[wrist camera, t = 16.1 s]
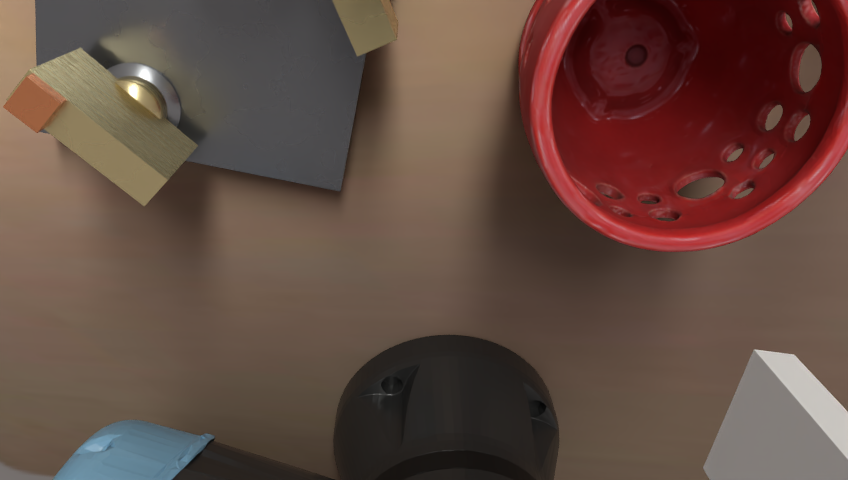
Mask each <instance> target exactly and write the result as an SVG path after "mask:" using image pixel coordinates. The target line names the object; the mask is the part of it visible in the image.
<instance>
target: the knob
mask: <svg viewBox="0 0 848 480" xmlns="http://www.w3.org/2000/svg"><path fill="white" fill-rule="evenodd" d="M3 107H4V108H5V109H6V110H8V111H9V112H10V113H11V114H13V115H14V116H15V117H17V118H18V119H19V120H21V121H22V122H23V123H25V124H26V125H27V126H28V127H30V128H31V129H32V130H34V131H35V132H36V133H38V132H40V131H41V130H43V129H44V130H46V131H47V132H48V133H50V134H51V135H52V136H54V137H55V138H56V139H57V140H59V141H60V142H61V143H63V144H64V145H65V146H67V147H68V148H69V149H70V150H72V151H73V152H74V153H76V154H77V155H78V156H79V157H81V158H82V159H83V160H85V161H86V162H87V163H89V164H90V165H91V166H92V167H94V168H95V169H96V170H98V171H99V172H100V173H102V174H103V175H104V176H105V177H107V178H108V179H109V180H111V181H112V182H113V183H114V184H116V185H117V186H118V187H120V188H121V189H122V190H124V191H125V192H126V193H127V194H129V195H130V196H131V197H133V198H134V199H135V200H137V201H138V202H139V203H140V204H142V205H143V206H145V205H146V204H147V203H148V202H149V201H150V200H151V199H152V197H153V196H154V195H155V194H156V193H157V192H158V191H159V190H160V189H161V187H162V186H163V185H164V184H165V183H166V182H167V181H168V180H169V178H170V177H171V176H172V175H173V174H174V173H175V172H176V170H177V169H178V168H179V167H180V166H181V165H182V164H183V162H184V161H185V160H186V159H187V158H188V157H189V156H190V154H191V153H192V152H193V151H194V150H195V149H196V148H197V146H198V145H197V144H196V143H195V142H193V141H192V140H191V139H190V138H189V137H187V136H186V135H185V134H184V133H183V132H181V131H180V130H179V129H178V128H177V127H175V126H174V125H173V124H172V123H170V122H169V121H168V120H167V114H168V110H167V104H166V101H165V98H164V96H163V95H162V93H161V92H160V90H159V89H158V88H157V87H156V86H155V85H154V84H152V83H151V82H149V81H148V80H146V79H143V78H140V77H136V76H124V77H120V78H116V77H115V76H114V75H113V74H112V73H110V72H109V71H108V70H107V69H106V68H104V67H103V66H102V65H101V64H99V63H98V62H97V61H96V60H95V59H93V58H92V57H91V56H90V55H89V54H87V53H86V52H85V51H84V50H83V49H81V48H79V49H76V50H74V51H72V52H69V53H67V54H65V55H62V56H60V57H58V58H55V59H53V60H51V61H48V62H46V63H44V64H41V65H39V66H37V67H34V68H32V69H30V70H28V72H27V73H26V74H25V76H24V77H23V78H22V80H21V81H20V82H19V84H18V85H17V86H16V88H15V89H14V90H13V92H12V93H11V94H10V96H9V97H8V98H7V102H6V104H5V105H4V106H3Z"/></svg>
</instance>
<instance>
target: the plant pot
mask: <svg viewBox="0 0 848 480" xmlns="http://www.w3.org/2000/svg"><path fill="white" fill-rule="evenodd" d="M812 1H813V2H814V3H815V5H816V8H817V11H818V14H817V13H816V11H815V9H814V7H813V5H812V2H811V0H536V2H535V3H534V5H533V7H532V9H531V11H530V13H529V16H528V18H527V21H526V24H525V26H524V30H523V33H522V37H521V42H520V48H519V60H518V69H519V100H520V109H521V115H522V121H523V125H524V129H525V133H526V136H527V139H528V142H529V144H530V147H531V150H532V152H533V155H534V157H535V159H536V162H537V164H538V166H539V167H540V169H541V171H542V173H543V175H544V176H545V178H546V180H547V182H548V183H549V185H550V186H551V188H552V189H553V191H554V193H555V194H556V195H557V196H558V198H559V199H560V200H561V202H562V203H563V204H564V205H565V206H566V207H567V208H568V209H569V210H570V211H571V212H572V213H573V214H574V215H575V216H576V217H577V218H578V219H579V220H581V221H582V222H583V223H584V224H586V225H587V226H589V227H590V228H592V229H593V230H595V231H597V232H598V233H600V234H602V235H604V236H606V237H608V238H610V239H612V240H614V241H617V242H619V243H622V244H625V245H628V246H632V247H635V248H640V249H646V250H652V251H659V252H685V251H699V250H705V249H711V248H715V247H719V246H723V245H726V244H730V243H733V242H736V241H738V240H741V239H744V238H746V237H748V236H751V235H753V234H755V233H757V232H758V231H760V230H762V229H764V228H766V227H767V226H769V225H771V224H773V223H774V222H776V221H777V220H779V219H780V218H782V217H783V216H785V215H786V214H788V213H789V212H791V211H792V210H793V209H794V208H796V207H797V206H798V205H799V204H801V203H802V202H803V201H804V200H805V199H806V198H807V197H808V196H809V195H811V194H812V193H813V192H814V191H815V190H816V189H817V188H818V187H819V186H820V185H821V184H822V183H823V182H824V180H825V179H826V178H827V177H828V176H829V175H830V173H831V172H832V171H833V170H834V168H835V167H836V166H837V164H838V163H839V161H840V160H841V158H842V157H843V155H844V154H845V152H846V151H847V149H848V0H812ZM786 13H787V14H788V15H789V16H790V18H791V20H792V24H793V25H792V28H791V27H790V26H789V25H788V22H787V20H786ZM810 44H812V45H813V46H814V47H815V48H816V49H817V51H818V52H819V54H820V57H821V61H822V69H821V75H820V79H819V81H818V82H817V84H816V85H815V86H814V88H813V89H812V90H811V91H809V92H806V93H805V92H804V91H803V90H802V88H801V85H800V82H799V68H800V62H801V58H802V55H803V53H804V51H805V49H806V48H807V46H808V45H810ZM776 105H781V106H782V108H783V114H782V117H781V119H780V121H779V122H778V124H777V125H776V126H775V127H774V128H773V129H771V130H768V131H767V130H766V129H765V123H766V120H767V116H768V114H769V113H770V111H771V110H772V109H773V108H774V107H775V106H776ZM808 114H809V115H810V119H811V120H810V126H809V128H808V130H807V132H806V133H805V134H804V135H803V137H802V138H800V139H799V140H798V141H795V140H794V133H795V130H796V128H797V126H798V124H799V122H800V121H801V120H802V119H803V118H804V117H805V116H806V115H808ZM740 148H743V152H742V154H741V155H740V156H739V157H738V158H737V159H736V160H734V161H731V162H727V158H728V157H729V156H730V154H732V153H733V152H734V151H735V150H738V149H740ZM773 153H774V158H773V160H772V161H771V162H770V163H769V164H768V165H767V166H766V167H764V168H762V169H759V166H760V164H761V163H762V162H763V160H764V159H765V158H766V157H768V156H769V155H771V154H773ZM707 177H719V178H722V179H723V180H724V185H723V186H722V187H721V188H719V189H718V190H717V191H716V192H714V193H712V194H710V195H708V196H706V197H704V198H698V199H692V198H687V197H683V196H680V195H678V193H677V192H678V191H679V190H680V189H681V188H682V187H684V186H686V185H687V184H689V183H690V182H693V181H696V180H699V179H701V178H707ZM750 188H754V189H753V191H752V192H751V193H750V194H748V195H747V196H745V197H742V198H739V199H734V198H735V197H736V195H738V194H739V193H741V192H742V191H744V190H746V189H750ZM602 193H603V194H605V195H608V196H610V197H611V198H613V199H611V198H608V197H606V196H605V195H603V194H602ZM641 201H652V202H655V203H656V204H645V203H641ZM655 218H670V219H674V220H675V221H660V220H657V219H655Z"/></svg>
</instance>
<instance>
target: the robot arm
mask: <svg viewBox="0 0 848 480" xmlns="http://www.w3.org/2000/svg"><path fill="white" fill-rule="evenodd" d="M214 439H215V436H214V435H211V434H203V435H201V436H199V435H195V434H191V433H187V432H184V431H180V430H176V429H172V428H168V427H165V426H161V425H157V424H153V423H149V422H146V421H140V420H124V421H119V422H115V423H113V424H110V425H108V426H106V427H104V428H102V429H101V430H99V431H98V432H96V433H95V434H94V435H92V436H91V437H90V438H89V439H88V440H87V441H86V442H84V443H83V444H82V445H81V446H80V447H79V449H78V450H77V451H76V452H75V453H74V454H73V455H72V456H71V457H70V459H69V460H68V461H67V462H66V463H65V465H64V466H63V467H62V468H61V469H60V471H59V472H58V473H57V475H56V476H55V477H54V478H53V480H334V479H331V478H328V477H325V476H322V475H319V474H315V473H312V472H309V471H306V470H303V469H300V468H296V467H293V466H290V465H287V464H284V463H281V462H278V461H274V460H271V459H268V458H265V457H262V456H259V455H255V454H252V453H249V452H246V451H243V450H240V449H237V448H233V447H230V446H227V445H224V444H221V443H218V442H214V441H213V440H214ZM558 449H559V428H558V421H557V417H556V414H555V410H554V407H553V403H552V400H551V397H550V394H549V391H548V389H547V387H546V385H545V383H544V382H543V380H542V379H541V377H540V376H539V374H538V373H537V372H536V371H535V369H534V368H533V367H532V366H531V365H530V364H528V363H527V362H526V361H525V360H524V359H522V358H521V357H520V356H518V355H517V354H515V353H514V352H512V351H510V350H508V349H506V348H505V347H502V346H500V345H498V344H495V343H492V342H490V341H486V340H483V339H479V338H474V337H468V336H458V335H438V336H429V337H423V338H418V339H414V340H410V341H407V342H404V343H401V344H399V345H396V346H394V347H392V348H389V349H387V350H386V351H384V352H382V353H380V354H379V355H377V356H376V357H374V358H373V359H371V360H370V361H369V362H367V363H366V364H365V365H364V366H363V367H362V368H361V369H360V370H359V371H358V372H357V373H356V374H355V375H354V376H353V378H352V379H351V380H350V382H349V383H348V385H347V386H346V388H345V390H344V392H343V394H342V396H341V399H340V402H339V405H338V409H337V415H336V422H335V429H334V455H335V460H336V465H337V468H338V471H339V474H340V477H341V480H554V475H555V468H556V462H557V456H558ZM703 469H704V470H705V472H706V474H707V476H708V477H709V479H710V480H848V412H847V411H846V410H845V408H844V407H843V406H842V405H841V404H840V403H839V402H838V401H837V400H836V399H835V398H834V397H833V396H832V395H831V394H830V392H829V391H828V390H827V389H826V388H825V387H824V386H823V385H822V384H821V383H820V382H819V381H818V380H817V379H816V378H815V376H814V375H813V374H812V373H811V372H810V371H809V370H808V369H807V368H806V367H805V366H804V365H803V364H802V363H801V362H800V360H799V359H798V358H797V357H796V356H795V355H794V354H786V353H778V352H770V351H762V350H754V351H753V353H752V355H751V358H750V360H749V362H748V365H747V367H746V369H745V372H744V374H743V376H742V379H741V381H740V383H739V386H738V388H737V390H736V393H735V395H734V397H733V400H732V402H731V404H730V407H729V409H728V411H727V414H726V416H725V418H724V421H723V423H722V425H721V428H720V430H719V432H718V435H717V437H716V439H715V442H714V444H713V446H712V448H711V451H710V453H709V455H708V458H707V460H706V462H705V465H704V467H703Z"/></svg>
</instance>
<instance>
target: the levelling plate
mask: <svg viewBox="0 0 848 480" xmlns="http://www.w3.org/2000/svg"><path fill="white" fill-rule="evenodd" d="M35 8H36V60H37V66H39V65H41V64H44V63H46V62H48V61H51V60H53V59H55V58H58V57H60V56H62V55H65V54H67V53H69V52H72V51H74V50H76V49H79V48H81V49H83V50H84V51H85V52H86V53H87V54H89V55H90V56H91V57H92V58H93V59H95V60H96V61H97V62H98V63H99V64H101V65H102V66H103V67H104V68H106V69H107V70H108V71H109V72H110V73H112V74H113V75H114V76H115V77H116V78H120V77H124V76H136V77H140V78H143V79H146V80H148V81H149V82H151V83H152V84H154V85H155V86H156V87H157V88H158V89H159V90H160V92H161V93H162V95H163V96H164V98H165V101H166V104H167V110H168V114H167V120H168V121H169V122H170V123H172V124H173V125H174V126H175V127H177V128H178V129H179V130H180V131H181V132H183V133H184V134H185V135H186V136H187V137H189V138H190V139H191V140H192V141H193V142H195V143H196V144H197V145H198V146H197V148H196V149H195V150H194V151H193V152H192V153H191V154H190V156H189V157H188V158H187V159H186V160H185V161H189V162H194V163H199V164H205V165H210V166H215V167H220V168H225V169H230V170H235V171H240V172H245V173H250V174H255V175H260V176H265V177H270V178H275V179H280V180H285V181H290V182H295V183H300V184H305V185H310V186H315V187H320V188H326V189H331V190H336V191H341V187H342V182H343V178H344V172H345V167H346V162H347V156H348V151H349V145H350V140H351V135H352V129H353V124H354V119H355V113H356V108H357V102H358V97H359V92H360V86H361V81H362V75H363V70H364V65H365V59H366V54H367V53H364V54H362V55H360V56H357V55H356V53H355V50H354V48H353V46H352V44H351V41H350V39H349V37H348V35H347V32H346V30H345V28H344V26H343V23H342V21H341V19H340V17H339V14H338V12H337V10H336V8H335V5H334V3H333V1H332V0H35ZM40 132H43V133H48V132H47V131H46V130H44V129H43V130H41V131H40ZM48 134H50V133H48Z"/></svg>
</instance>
